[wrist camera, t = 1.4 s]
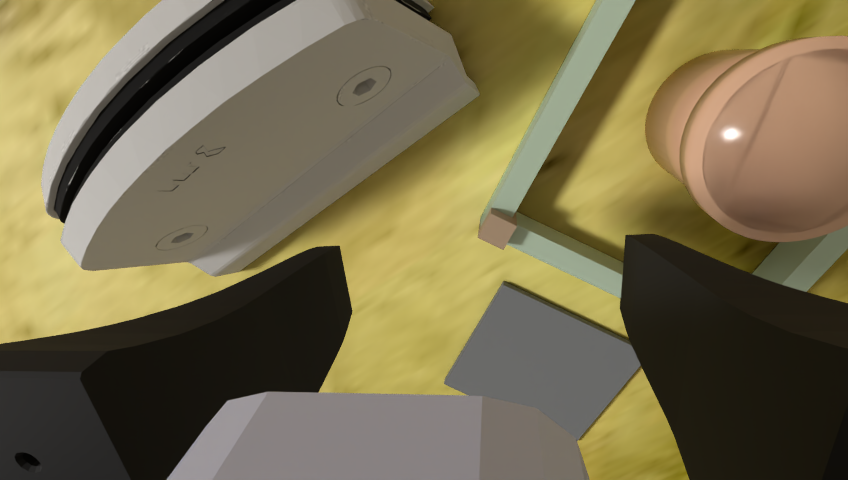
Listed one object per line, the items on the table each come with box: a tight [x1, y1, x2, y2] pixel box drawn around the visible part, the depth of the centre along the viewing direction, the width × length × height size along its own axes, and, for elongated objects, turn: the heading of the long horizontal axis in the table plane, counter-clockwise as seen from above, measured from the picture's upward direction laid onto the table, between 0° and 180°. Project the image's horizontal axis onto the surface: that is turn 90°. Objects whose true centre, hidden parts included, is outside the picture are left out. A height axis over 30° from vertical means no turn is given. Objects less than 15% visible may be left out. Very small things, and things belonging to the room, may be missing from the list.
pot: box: [645, 36, 848, 242], centre depth 16 cm, size 6×6×6 cm
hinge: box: [41, 0, 480, 277], centre depth 18 cm, size 17×5×10 cm, turn 126°
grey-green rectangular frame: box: [478, 0, 848, 298], centre depth 17 cm, size 13×16×3 cm
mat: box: [444, 281, 641, 441], centre depth 24 cm, size 8×7×1 cm
